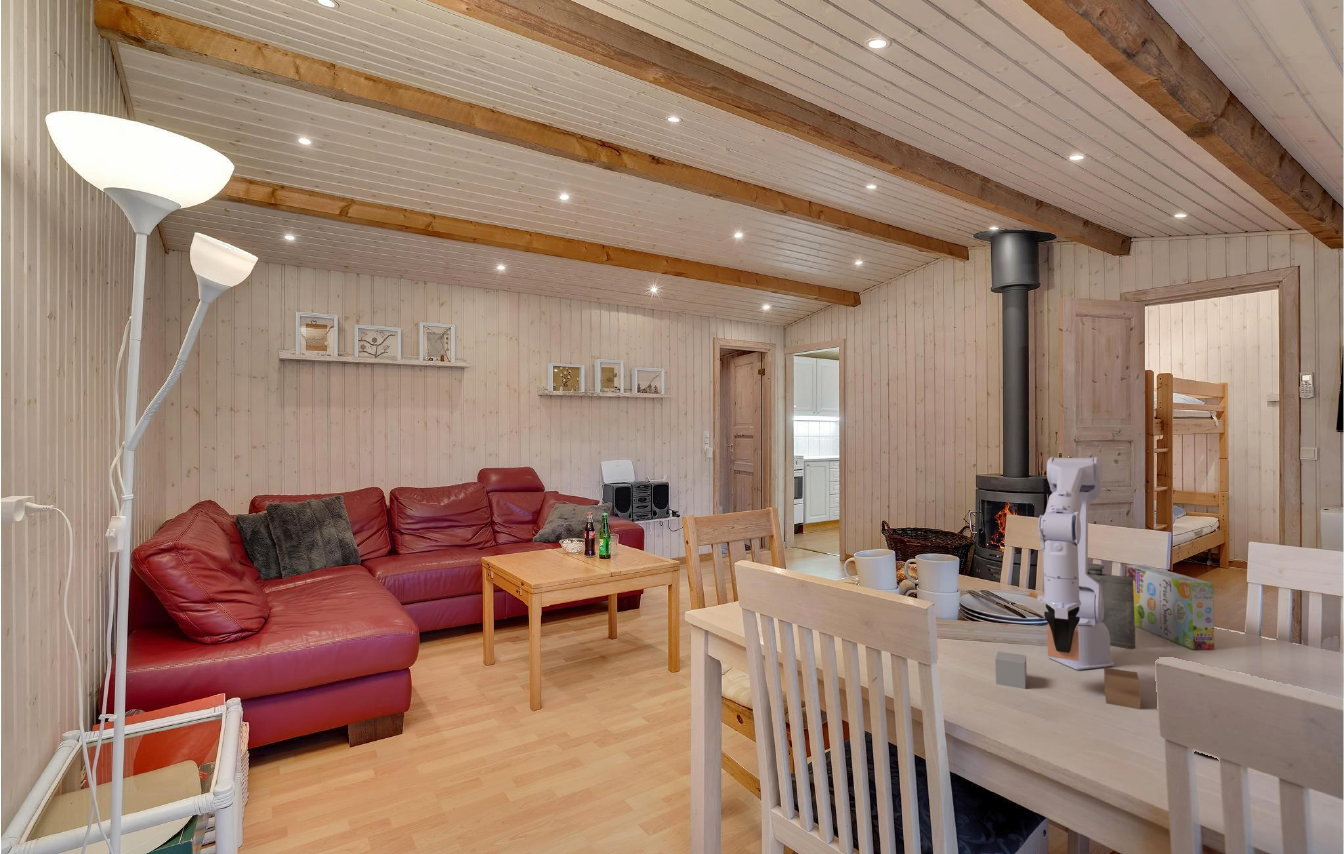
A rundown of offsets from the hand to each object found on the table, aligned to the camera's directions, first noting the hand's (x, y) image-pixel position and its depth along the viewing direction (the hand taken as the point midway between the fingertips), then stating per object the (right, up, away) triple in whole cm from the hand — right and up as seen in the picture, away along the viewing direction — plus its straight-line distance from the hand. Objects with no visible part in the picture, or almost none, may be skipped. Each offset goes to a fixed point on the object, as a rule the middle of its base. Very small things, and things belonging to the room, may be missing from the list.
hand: (1063, 647), depth 118 cm
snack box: (+44, -8, +30) cm, 54 cm away
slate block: (-7, -9, +5) cm, 12 cm away
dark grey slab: (+25, -9, +27) cm, 38 cm away
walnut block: (+8, -8, -5) cm, 12 cm away
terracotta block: (0, -1, 0) cm, 1 cm away
